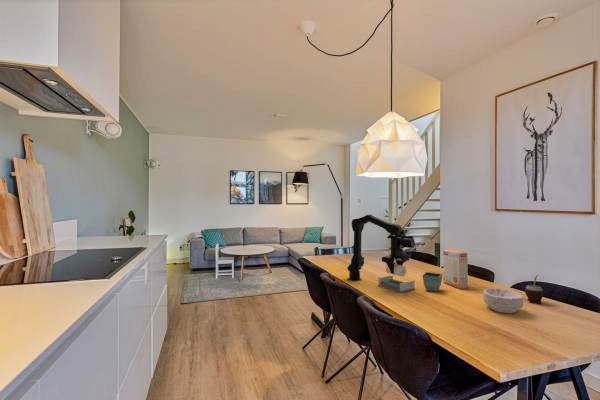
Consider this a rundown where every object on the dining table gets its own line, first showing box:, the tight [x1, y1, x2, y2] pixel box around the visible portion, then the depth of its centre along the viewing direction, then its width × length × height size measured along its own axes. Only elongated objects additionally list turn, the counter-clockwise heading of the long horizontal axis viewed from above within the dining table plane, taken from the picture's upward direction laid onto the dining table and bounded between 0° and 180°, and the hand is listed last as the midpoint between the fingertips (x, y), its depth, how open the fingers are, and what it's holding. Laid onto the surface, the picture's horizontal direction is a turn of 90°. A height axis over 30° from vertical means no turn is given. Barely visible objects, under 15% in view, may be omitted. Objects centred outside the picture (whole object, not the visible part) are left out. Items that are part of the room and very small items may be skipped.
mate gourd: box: [524, 274, 544, 305], centre depth 147 cm, size 8×8×15 cm
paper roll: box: [385, 264, 407, 277], centre depth 173 cm, size 10×6×6 cm, turn 35°
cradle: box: [377, 274, 416, 294], centre depth 173 cm, size 16×12×5 cm
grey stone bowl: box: [482, 287, 524, 314], centre depth 137 cm, size 15×15×8 cm
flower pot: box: [422, 271, 443, 292], centre depth 168 cm, size 9×9×9 cm
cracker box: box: [442, 248, 469, 290], centre depth 177 cm, size 14×6×21 cm, turn 10°
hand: (395, 272), depth 173 cm, fingers closed on paper roll, 6 cm apart
